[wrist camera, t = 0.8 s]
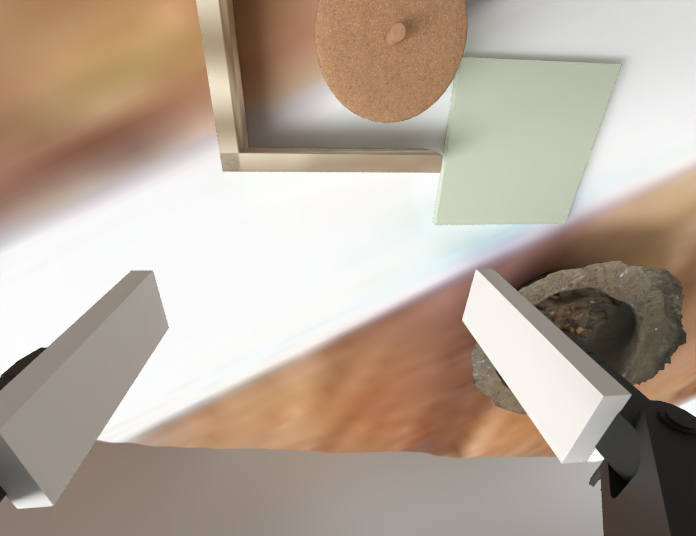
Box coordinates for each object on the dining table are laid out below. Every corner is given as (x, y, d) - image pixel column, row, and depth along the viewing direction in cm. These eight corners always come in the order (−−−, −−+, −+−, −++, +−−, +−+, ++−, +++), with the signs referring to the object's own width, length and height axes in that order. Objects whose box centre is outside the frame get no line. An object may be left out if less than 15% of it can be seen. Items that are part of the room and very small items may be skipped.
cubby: (198, -111, 22) (170, -165, 18) (455, -87, 24) (487, -130, 20) (235, 162, 31) (222, 171, 27) (423, 164, 33) (440, 172, 29)
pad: (457, 58, 29) (462, 57, 28) (613, 65, 30) (621, 64, 30) (432, 222, 36) (435, 225, 35) (559, 220, 38) (565, 223, 37)
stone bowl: (641, 328, 47) (704, 377, 39) (488, 393, 54) (515, 447, 46) (611, 199, 37) (690, 230, 29) (424, 300, 43) (445, 348, 35)
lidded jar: (430, -31, 26) (486, -98, 18) (430, 111, 31) (474, 112, 22) (303, -14, 25) (299, -75, 17) (324, 127, 30) (329, 133, 22)
